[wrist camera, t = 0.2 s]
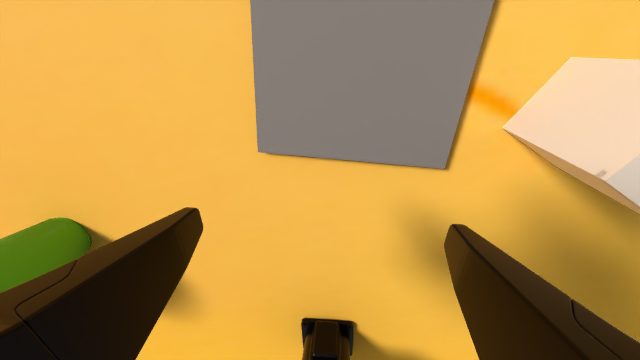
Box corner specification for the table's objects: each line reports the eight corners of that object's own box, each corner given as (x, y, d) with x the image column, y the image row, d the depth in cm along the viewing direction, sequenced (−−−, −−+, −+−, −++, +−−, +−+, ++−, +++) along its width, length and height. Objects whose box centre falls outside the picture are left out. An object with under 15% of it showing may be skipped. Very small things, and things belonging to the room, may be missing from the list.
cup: (86, 200, 28) (-52, 280, 19) (120, 264, 32) (22, 357, 23) (14, 202, 30) (-151, 278, 20) (56, 263, 34) (-65, 352, 24)
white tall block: (555, 165, 22) (684, 239, 14) (501, 127, 21) (605, 181, 13) (627, 103, 20) (842, 146, 11) (571, 56, 19) (758, 64, 10)
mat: (441, 165, 23) (444, 168, 22) (260, 149, 24) (257, 152, 23) (512, -82, 16) (520, -88, 15) (249, -91, 17) (245, -98, 16)
